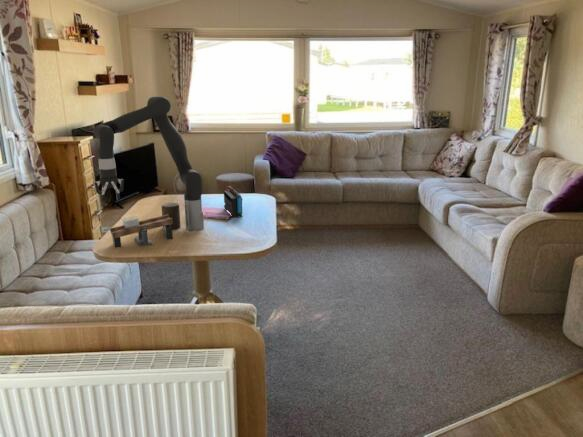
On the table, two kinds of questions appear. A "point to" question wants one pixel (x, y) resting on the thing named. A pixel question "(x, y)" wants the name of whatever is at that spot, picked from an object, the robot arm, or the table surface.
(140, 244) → the pivot stand
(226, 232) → the table surface
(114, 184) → the robot arm
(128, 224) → the steel weight
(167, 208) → the pillar candle
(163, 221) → the walnut beam
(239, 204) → the game console
